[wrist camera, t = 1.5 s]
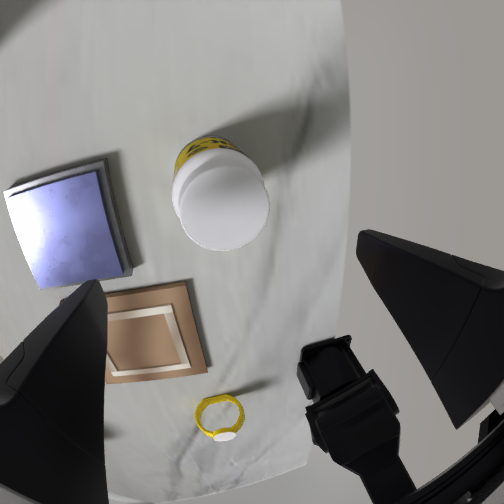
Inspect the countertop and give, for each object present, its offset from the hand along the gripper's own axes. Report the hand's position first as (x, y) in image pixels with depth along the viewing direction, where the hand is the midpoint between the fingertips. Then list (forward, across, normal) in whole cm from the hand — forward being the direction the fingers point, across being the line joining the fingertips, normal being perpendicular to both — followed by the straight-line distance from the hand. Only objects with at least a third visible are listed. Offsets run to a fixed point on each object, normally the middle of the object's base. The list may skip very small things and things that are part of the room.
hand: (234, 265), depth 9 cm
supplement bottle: (+12, 0, 0) cm, 12 cm away
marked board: (+12, +9, +15) cm, 21 cm away
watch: (+12, +3, +28) cm, 30 cm away
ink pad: (+12, +11, +2) cm, 17 cm away
